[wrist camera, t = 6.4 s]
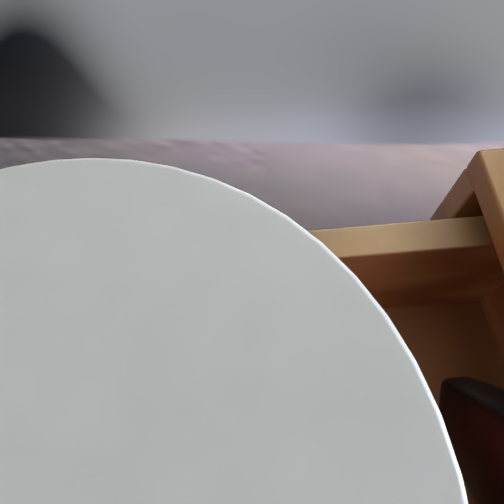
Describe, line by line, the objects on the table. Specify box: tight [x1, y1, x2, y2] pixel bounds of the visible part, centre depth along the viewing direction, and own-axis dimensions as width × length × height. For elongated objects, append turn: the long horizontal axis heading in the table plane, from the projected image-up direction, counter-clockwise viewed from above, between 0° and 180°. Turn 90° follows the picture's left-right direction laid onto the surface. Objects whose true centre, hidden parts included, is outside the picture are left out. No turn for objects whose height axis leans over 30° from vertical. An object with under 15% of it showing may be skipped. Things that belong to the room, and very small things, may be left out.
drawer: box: [308, 216, 504, 504], centre depth 11 cm, size 20×11×6 cm, turn 94°
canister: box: [0, 158, 468, 504], centre depth 7 cm, size 5×5×11 cm
